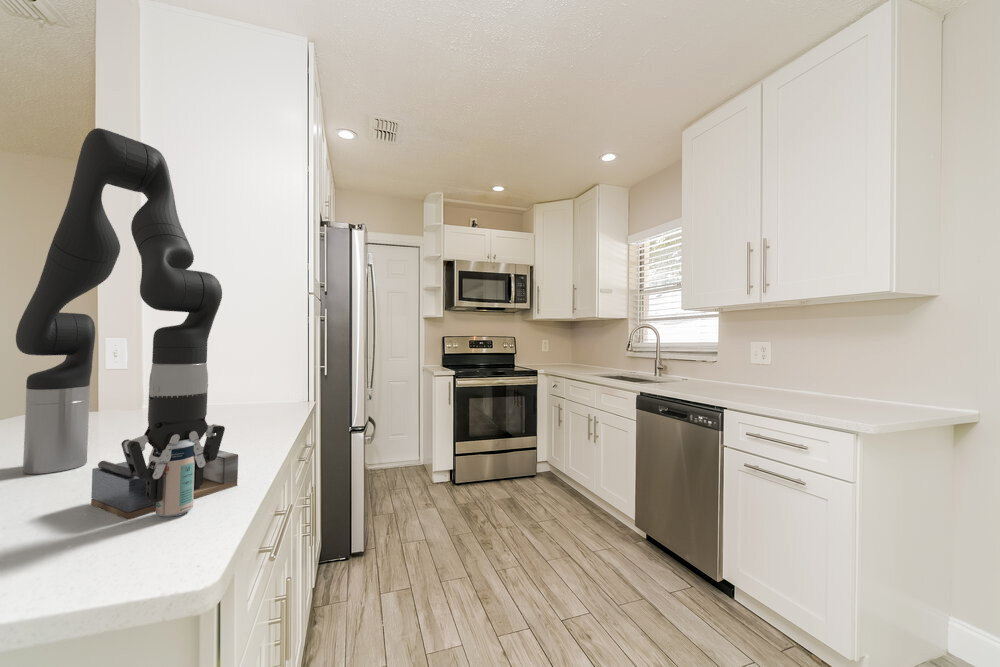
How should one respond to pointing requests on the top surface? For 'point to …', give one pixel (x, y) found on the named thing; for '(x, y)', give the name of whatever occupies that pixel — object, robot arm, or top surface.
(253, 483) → the top surface
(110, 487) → the box
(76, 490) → the top surface
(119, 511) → the vise base
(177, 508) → the beer can
